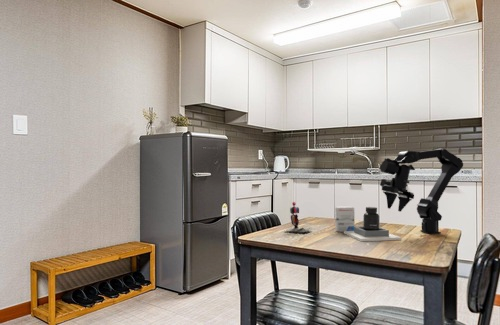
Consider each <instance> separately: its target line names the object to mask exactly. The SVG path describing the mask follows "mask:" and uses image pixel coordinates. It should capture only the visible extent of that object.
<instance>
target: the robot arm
mask: <svg viewBox="0 0 500 325" xmlns="http://www.w3.org/2000/svg"><path fill="white" fill-rule="evenodd" d="M434 158H437V160H438V162H439V163H440V164H441V167H440V168H441V173H440V175H439V176H438V178H437V180H436V181H435V183H434V185H433V187H432V189H431V191H429V194H428V196H427V197H426V198H420V200H419V202H418V204H416V206H417V207H416V211H417V214H418V215H419V219H422V220H421V221H422V222H421V229H420V231H419V232H422V233H425V234H441V231H439V229H440V228H439V221H442V218H443V216H442V215H441V214H440V212H439V211H438V210H439V201H440V199H441V198H442V196H443V194H444V192H445V191H446V189H447V187H448V185H449V183H450V182H451V180H452V178H453V177H454V176H455V175H457V174H458V173H459V172H460V171H461V170H462V169H463V167H464V163H463V160H462V159H461V158H460V157H458V156H457V155H455V154H454V153H451V152H450V151H448V150H447V149H446V148H436V149H432V150H423V151H415V150H408V151H400V152H398V154H397V156H396V157H395V158H394V159H391V158H387V157H385V158H384V160H383V161H382V162H381V164H380V165H379V166H380V167H379V170H380V172H381V173H385V174H388V175H392V176H393V175H394V177H392V179H391V180H387V179H385V178H383V179H381V180H380V184H379V186H381V191H382V193H383V194H384V195H385V197H386V205H387V209H389V210H390V209H391V207H393V205H394V202H395V201H396V199H397V198H398V209H397V211H398V212H402V211H403V210H404V208H406V206H407V205H408V204H409V203H410V201H412V200H414V198H415V193H414V192H411V191H408V189H407V186H408V184H410V180H409V177H410V173H411V172H410V171H415V170H416V169H415V167H414V165H413V164H414V163H416V162H419V161H420V160H426V159H434Z"/></svg>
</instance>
